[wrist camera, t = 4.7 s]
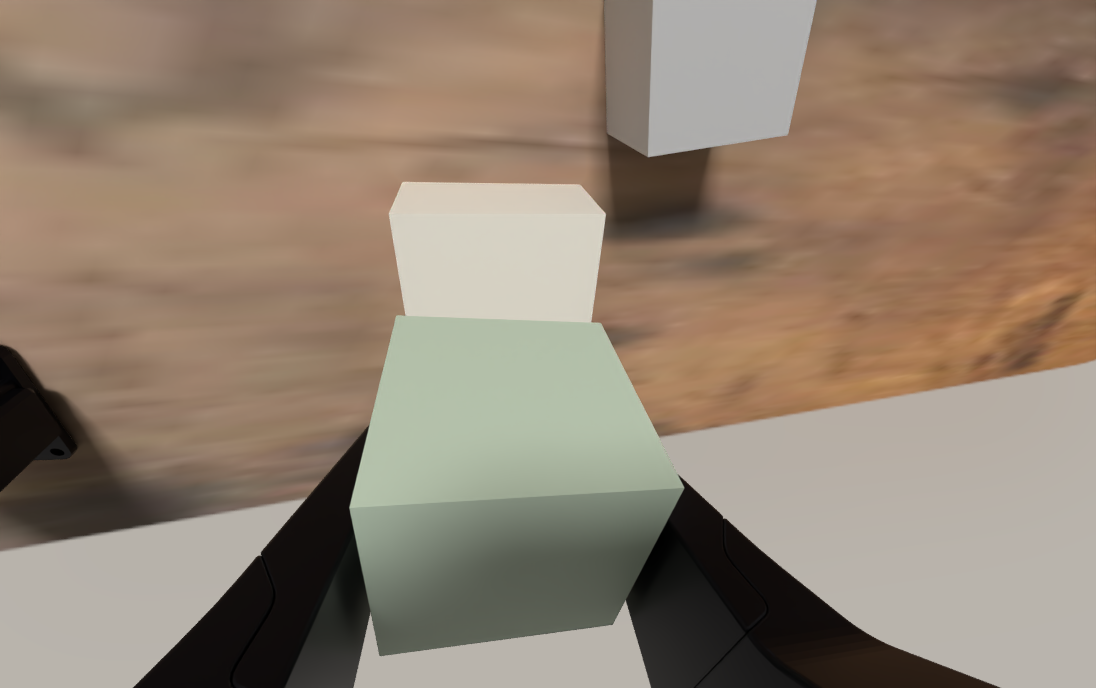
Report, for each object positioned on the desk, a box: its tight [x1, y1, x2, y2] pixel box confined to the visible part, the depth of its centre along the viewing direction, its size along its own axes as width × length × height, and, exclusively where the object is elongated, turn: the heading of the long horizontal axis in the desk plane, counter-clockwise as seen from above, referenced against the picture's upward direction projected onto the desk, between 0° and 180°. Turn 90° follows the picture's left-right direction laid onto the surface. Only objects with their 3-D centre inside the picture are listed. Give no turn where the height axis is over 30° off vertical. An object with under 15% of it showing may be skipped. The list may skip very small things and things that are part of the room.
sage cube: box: [350, 316, 684, 656], centre depth 9 cm, size 4×4×4 cm
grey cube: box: [604, 0, 817, 157], centre depth 13 cm, size 4×4×4 cm
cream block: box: [389, 182, 606, 323], centre depth 17 cm, size 7×7×4 cm
